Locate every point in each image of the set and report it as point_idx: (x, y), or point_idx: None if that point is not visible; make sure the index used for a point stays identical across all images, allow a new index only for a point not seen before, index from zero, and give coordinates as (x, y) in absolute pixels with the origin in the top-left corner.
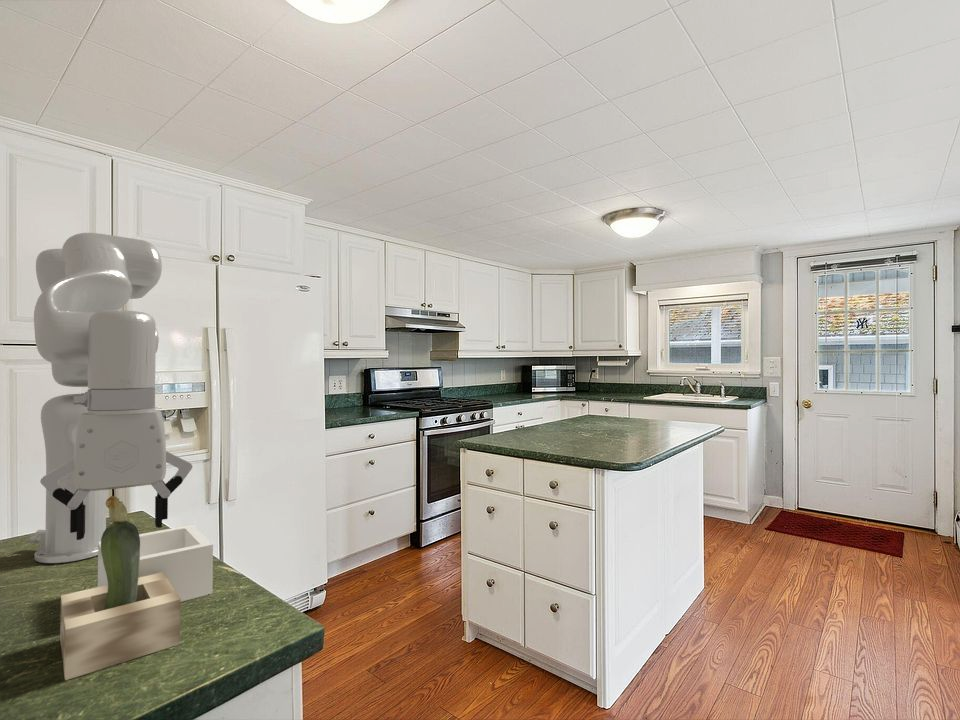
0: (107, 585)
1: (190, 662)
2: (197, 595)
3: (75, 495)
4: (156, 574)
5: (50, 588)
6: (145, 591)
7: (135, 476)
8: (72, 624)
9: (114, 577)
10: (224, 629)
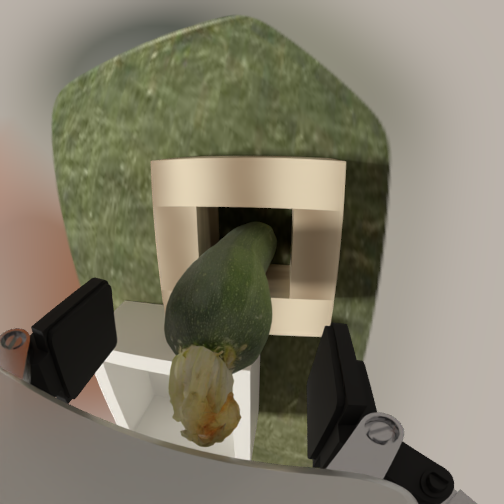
0: None
1: (181, 92)
2: (142, 304)
3: (381, 469)
4: None
5: (302, 440)
6: None
7: (8, 434)
8: (334, 177)
9: (250, 250)
10: (124, 164)
